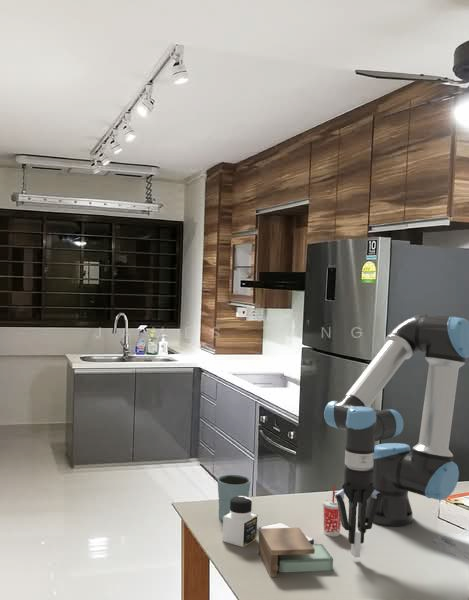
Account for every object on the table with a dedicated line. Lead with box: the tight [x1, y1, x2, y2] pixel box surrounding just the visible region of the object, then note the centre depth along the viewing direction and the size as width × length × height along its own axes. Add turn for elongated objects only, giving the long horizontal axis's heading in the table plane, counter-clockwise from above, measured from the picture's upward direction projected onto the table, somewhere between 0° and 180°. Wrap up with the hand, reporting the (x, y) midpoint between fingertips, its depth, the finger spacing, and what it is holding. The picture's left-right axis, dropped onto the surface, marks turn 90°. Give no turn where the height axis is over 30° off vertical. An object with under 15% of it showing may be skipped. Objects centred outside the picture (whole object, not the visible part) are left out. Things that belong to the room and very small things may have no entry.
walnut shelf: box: [258, 527, 315, 578], centre depth 169 cm, size 11×14×7 cm
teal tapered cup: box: [217, 474, 251, 522], centre depth 200 cm, size 10×10×12 cm
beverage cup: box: [322, 485, 342, 537], centre depth 191 cm, size 6×6×14 cm
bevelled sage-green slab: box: [277, 543, 334, 573], centre depth 170 cm, size 14×9×3 cm, turn 100°
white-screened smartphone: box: [258, 522, 315, 545], centre depth 187 cm, size 9×2×16 cm
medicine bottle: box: [221, 496, 258, 548], centre depth 183 cm, size 7×7×12 cm
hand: (355, 555), depth 173 cm, fingers closed
